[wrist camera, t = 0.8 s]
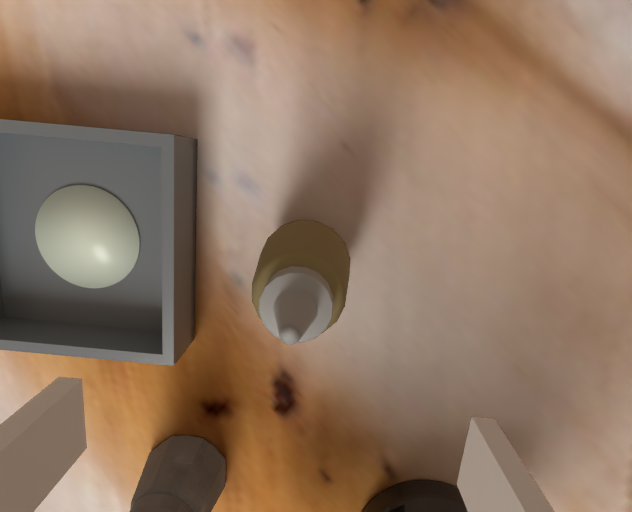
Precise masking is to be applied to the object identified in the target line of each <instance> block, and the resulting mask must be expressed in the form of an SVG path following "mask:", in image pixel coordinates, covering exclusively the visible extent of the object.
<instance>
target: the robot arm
mask: <svg viewBox="0 0 632 512" xmlns="http://www.w3.org/2000/svg"><path fill="white" fill-rule="evenodd" d="M86 448H87V445H86V431H85V417H84V403H83V389H82V379H77V378H67V377H58V378H57V379H56V380H55V381H53V382H52V383H51V384H50V385H48V386H47V387H46V388H45V389H44V390H42V391H41V392H40V393H39V394H37V395H36V396H35V397H34V398H32V399H31V400H30V401H29V402H28V403H26V404H25V405H24V406H23V407H21V408H20V409H19V410H18V411H16V412H15V413H14V414H13V415H12V416H10V417H9V418H8V419H7V420H5V421H4V422H3V423H2V424H1V425H0V512H34V511H35V509H36V508H37V507H38V506H39V505H40V503H41V502H42V501H43V500H44V499H45V497H46V496H47V495H48V494H49V493H50V491H51V490H52V489H53V488H54V487H55V485H56V484H57V483H58V482H59V481H60V479H61V478H62V477H63V476H64V475H65V473H66V472H67V471H68V470H69V469H70V467H71V466H72V465H73V464H74V463H75V461H76V460H77V459H78V458H79V456H80V455H81V454H82V453H83V452H84V450H85V449H86ZM457 486H458V488H456V487H454V486H452V485H449V484H446V483H442V482H437V481H429V480H418V481H410V482H405V483H401V484H398V485H395V486H393V487H390V488H388V489H386V490H385V491H383V492H381V493H380V494H378V495H377V496H376V497H375V498H373V499H372V500H371V501H370V502H369V503H368V505H367V506H366V507H365V509H364V510H363V512H554V510H553V508H552V507H551V505H550V504H549V502H548V501H547V499H546V498H545V496H544V495H543V493H542V491H541V490H540V488H539V487H538V485H537V484H536V482H535V481H534V479H533V477H532V476H531V474H530V473H529V471H528V470H527V468H526V467H525V465H524V464H523V462H522V460H521V459H520V457H519V456H518V454H517V453H516V451H515V450H514V448H513V447H512V445H511V443H510V442H509V440H508V439H507V437H506V436H505V434H504V433H503V431H502V430H501V428H500V426H499V425H498V423H497V422H496V420H495V419H493V418H482V417H471V421H470V426H469V430H468V435H467V439H466V444H465V448H464V453H463V457H462V462H461V466H460V471H459V475H458V480H457Z"/></svg>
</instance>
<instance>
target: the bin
mask: <svg viewBox="0 0 632 512" xmlns="http://www.w3.org/2000/svg"><path fill="white" fill-rule="evenodd" d="M196 191H197V139H192V138H187V137H183V136H178V135H172V134H161V133H150V132H139V131H128V130H117V129H106V128H95V127H84V126H72V125H61V124H50V123H39V122H28V121H17V120H6V119H0V350H10V351H20V352H31V353H42V354H52V355H63V356H74V357H84V358H95V359H106V360H116V361H127V362H138V363H148V364H159V365H170V366H174V365H175V363H176V362H177V361H178V359H179V358H180V357H181V356H182V354H183V353H184V352H185V350H186V349H187V348H188V346H189V345H190V344H191V343H192V341H193V340H194V321H195V256H196Z"/></svg>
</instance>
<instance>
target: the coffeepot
mask: <svg viewBox="0 0 632 512" xmlns="http://www.w3.org/2000/svg"><path fill="white" fill-rule="evenodd" d="M225 477H226V459H225V458H224V457H223V455H222V454H221V453H220V452H219V451H218V449H217V448H216V447H215V446H213V445H212V444H211V443H210V442H208V441H206V440H205V439H204V438H200V437H196V436H191V435H179V436H171V437H169V438H168V439H167V440H165V441H163V442H162V443H161V444H160V445H159V446H158V447H157V448H155V449H154V450H153V451H152V452H150V453H149V456H148V459H147V461H146V464H145V467H144V469H143V472H142V475H141V478H140V480H139V483H138V486H137V488H136V491H135V494H134V496H133V499H132V502H131V510H130V512H211V511H212V509H213V507H214V505H215V504H216V502H217V500H218V498H219V496H220V494H221V493H222V491H223V489H224V487H225Z"/></svg>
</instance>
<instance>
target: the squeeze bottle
mask: <svg viewBox="0 0 632 512" xmlns="http://www.w3.org/2000/svg"><path fill="white" fill-rule="evenodd" d="M349 271H350V256H349V253H348V250H347V247H346V244H345V242H344V241H343V240H342V239H341V238H340V236H339V235H338V234H337V233H336V232H335V231H334V230H333V229H332V228H330V227H328V226H326V225H323V224H321V223H319V222H317V221H306V220H297V221H294V222H291V223H288V224H286V225H283V226H281V227H280V228H278V229H277V230H276V231H275V232H274V233H273V234H272V235H271V236H270V237H269V238H268V239H267V241H266V243H265V246H264V248H263V250H262V252H261V255H260V258H259V262H258V265H257V269H256V272H255V276H254V279H253V283H252V302H253V304H254V306H255V309H256V311H257V314H258V316H259V318H260V319H261V320H262V322H263V324H264V326H265V327H266V328H267V329H268V330H269V331H270V332H271V333H272V334H273V335H274V336H275V337H278V338H280V339H281V340H282V341H283V342H284V343H286V344H295V343H297V342H299V343H302V342H305V341H308V340H311V339H315V338H316V337H317V336H319V335H320V334H321V333H323V332H325V331H326V330H327V329H328V328H329V327H331V326H332V325H333V324H334V323H335V322H337V320H338V318H339V316H340V314H341V312H342V310H343V308H344V307H345V301H346V294H347V287H348V281H349Z"/></svg>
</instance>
